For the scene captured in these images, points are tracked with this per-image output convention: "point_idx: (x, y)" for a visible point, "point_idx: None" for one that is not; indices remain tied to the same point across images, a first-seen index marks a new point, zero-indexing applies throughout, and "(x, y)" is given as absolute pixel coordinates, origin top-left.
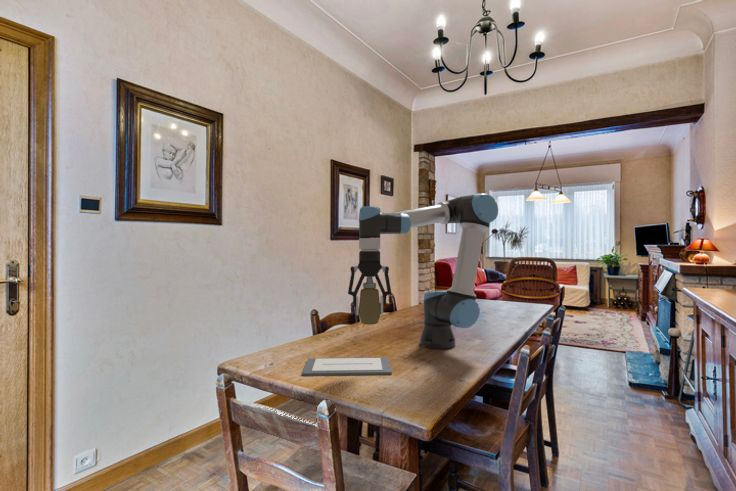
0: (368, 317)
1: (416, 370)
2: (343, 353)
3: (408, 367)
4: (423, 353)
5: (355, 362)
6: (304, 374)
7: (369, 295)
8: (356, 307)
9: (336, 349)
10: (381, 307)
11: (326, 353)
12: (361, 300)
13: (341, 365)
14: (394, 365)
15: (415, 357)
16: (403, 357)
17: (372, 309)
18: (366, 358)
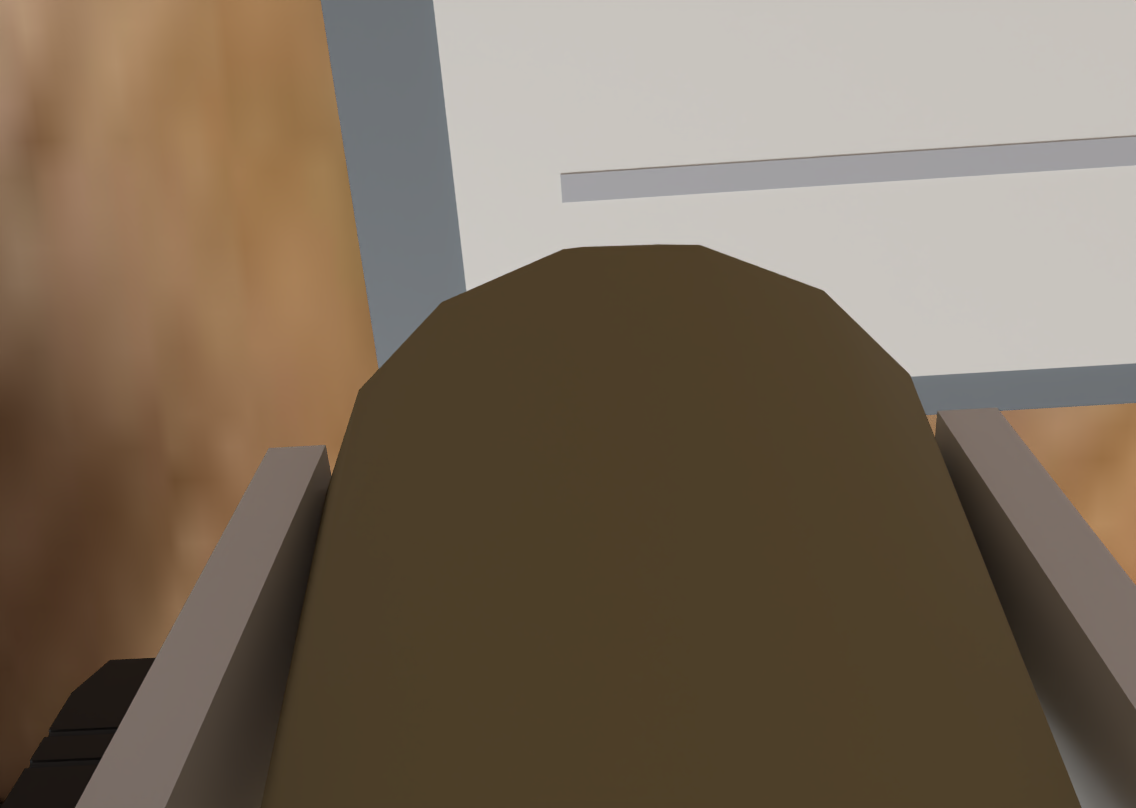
0: (659, 245)
1: (15, 58)
2: None
3: (127, 166)
4: (14, 632)
5: (783, 225)
6: None
7: (685, 690)
8: (1081, 518)
9: None
10: (256, 564)
11: None
12: (1004, 634)
13: (966, 103)
14: (303, 233)
15: (86, 506)
16: (222, 503)
17: (539, 340)
18: None
